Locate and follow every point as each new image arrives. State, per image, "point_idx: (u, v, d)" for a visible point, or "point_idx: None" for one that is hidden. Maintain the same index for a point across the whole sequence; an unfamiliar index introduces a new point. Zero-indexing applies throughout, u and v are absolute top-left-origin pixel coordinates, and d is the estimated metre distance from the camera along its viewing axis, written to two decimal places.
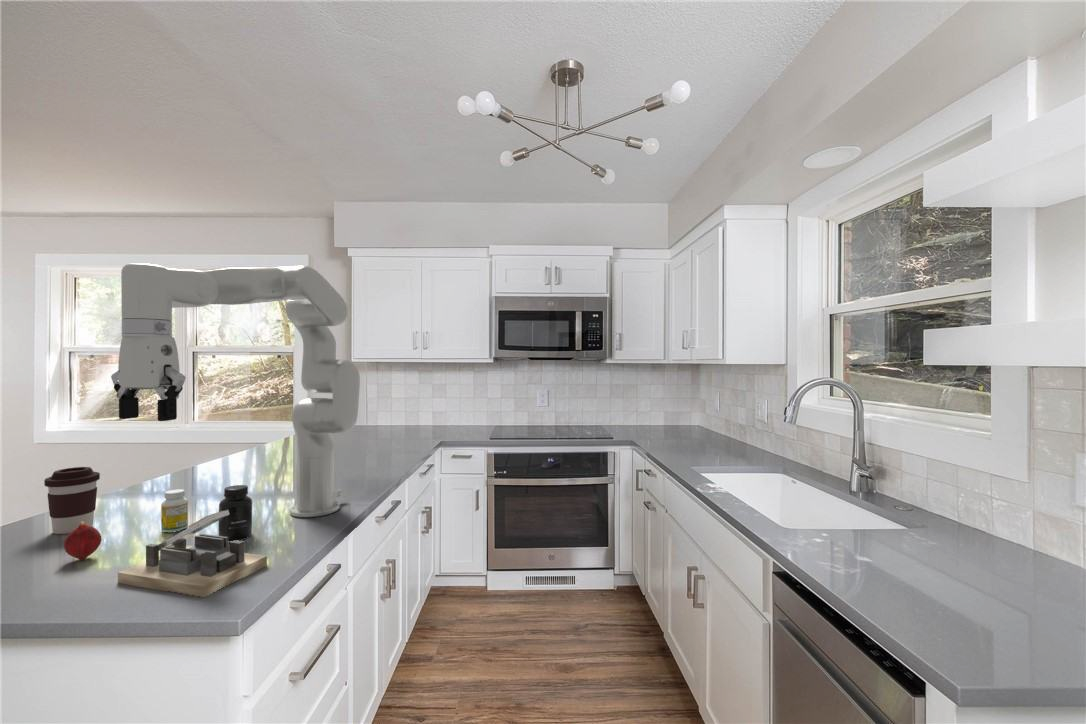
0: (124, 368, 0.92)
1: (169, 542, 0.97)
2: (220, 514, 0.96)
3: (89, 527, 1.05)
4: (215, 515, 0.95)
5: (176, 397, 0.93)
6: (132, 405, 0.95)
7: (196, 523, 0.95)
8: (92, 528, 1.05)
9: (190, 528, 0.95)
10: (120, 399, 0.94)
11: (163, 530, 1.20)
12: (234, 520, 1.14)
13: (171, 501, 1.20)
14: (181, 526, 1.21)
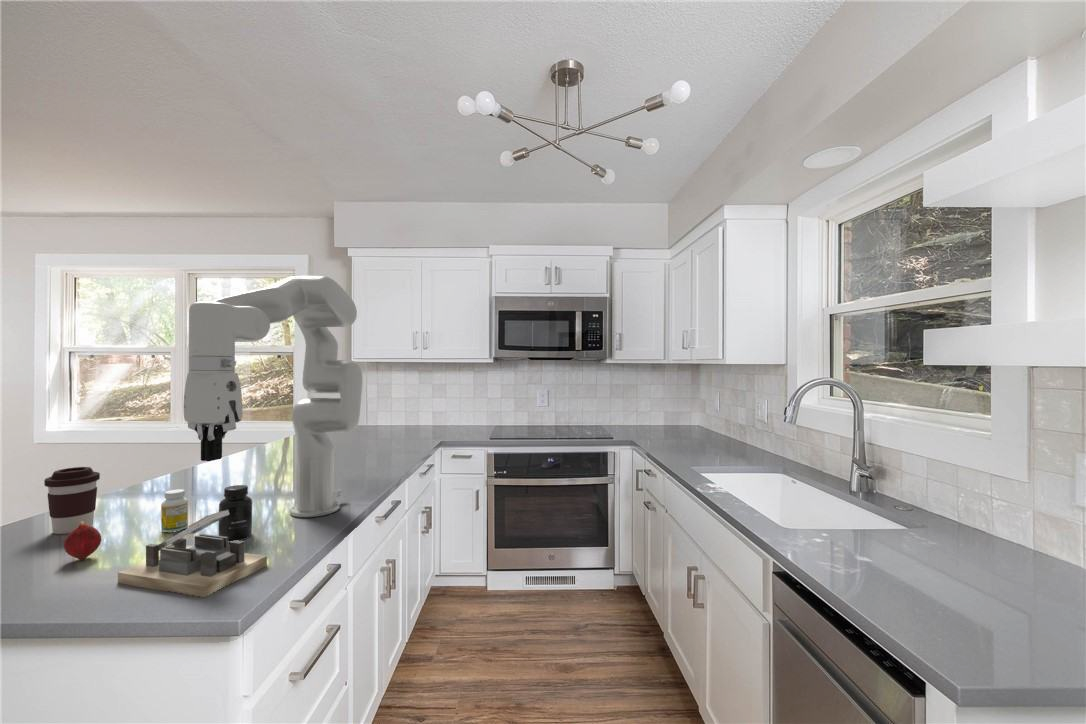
0: (190, 403, 0.94)
1: (169, 542, 0.97)
2: (220, 514, 0.96)
3: (89, 527, 1.05)
4: (215, 515, 0.95)
5: (222, 437, 0.96)
6: None
7: (196, 523, 0.95)
8: (92, 528, 1.05)
9: (190, 528, 0.95)
10: (202, 441, 0.94)
11: (163, 530, 1.20)
12: (234, 520, 1.14)
13: (171, 501, 1.20)
14: (181, 526, 1.21)
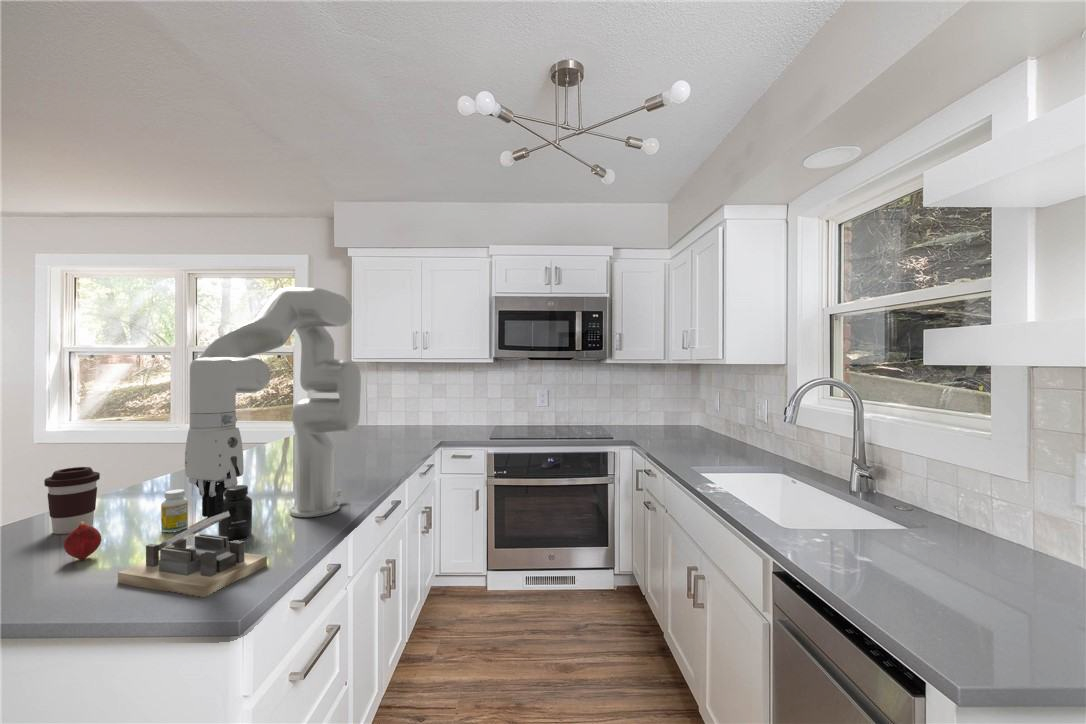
0: (191, 460, 0.94)
1: (169, 542, 0.97)
2: (221, 515, 0.96)
3: (89, 527, 1.05)
4: (216, 516, 0.95)
5: (223, 492, 0.96)
6: None
7: (196, 524, 0.95)
8: (92, 528, 1.05)
9: (190, 529, 0.95)
10: (203, 497, 0.95)
11: (163, 530, 1.20)
12: (234, 520, 1.14)
13: (171, 501, 1.20)
14: (181, 526, 1.21)
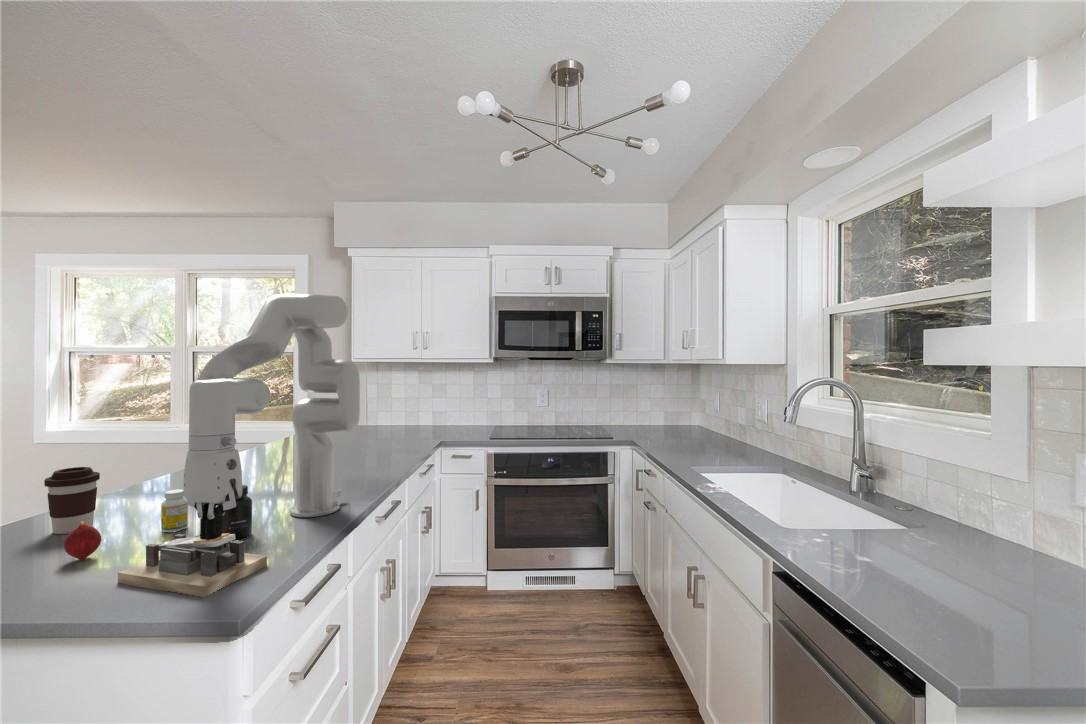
0: (190, 482, 0.94)
1: None
2: (227, 539, 0.96)
3: (89, 527, 1.05)
4: (222, 540, 0.95)
5: (222, 515, 0.96)
6: None
7: (202, 542, 0.95)
8: (92, 528, 1.05)
9: (194, 544, 0.95)
10: (202, 520, 0.94)
11: (163, 530, 1.20)
12: (234, 520, 1.14)
13: (171, 501, 1.20)
14: (181, 526, 1.21)
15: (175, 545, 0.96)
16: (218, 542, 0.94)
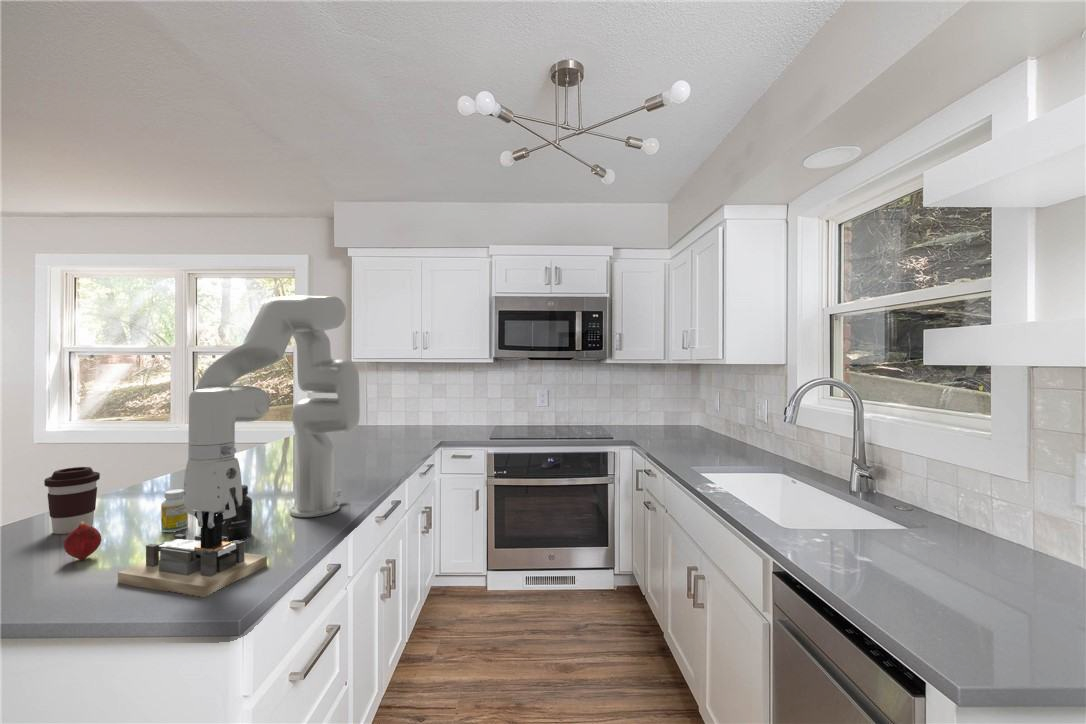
0: (190, 491, 0.94)
1: None
2: (228, 549, 0.96)
3: (89, 527, 1.05)
4: (223, 550, 0.95)
5: (222, 523, 0.96)
6: None
7: (202, 549, 0.95)
8: (92, 528, 1.05)
9: None
10: (202, 528, 0.95)
11: (163, 530, 1.20)
12: (234, 520, 1.14)
13: (171, 501, 1.20)
14: (181, 526, 1.21)
15: None
16: (219, 552, 0.94)
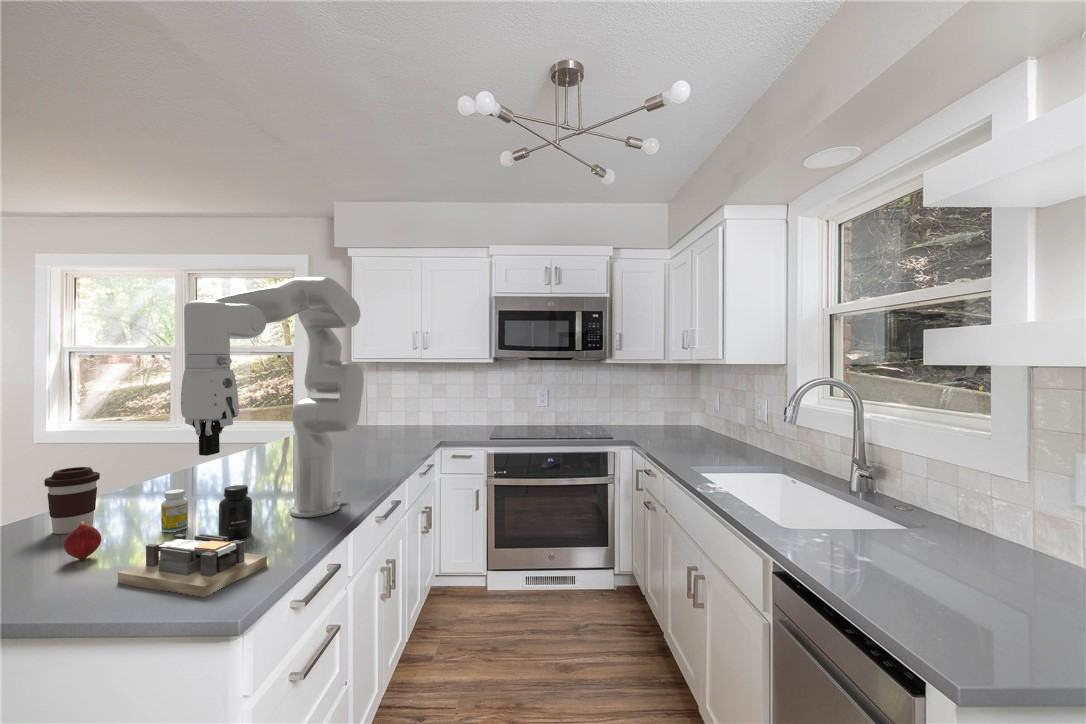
0: (187, 400, 0.97)
1: None
2: (228, 549, 0.96)
3: (89, 527, 1.05)
4: (223, 550, 0.95)
5: (219, 432, 0.99)
6: None
7: (202, 550, 0.95)
8: (92, 528, 1.05)
9: None
10: (200, 436, 0.98)
11: (163, 530, 1.20)
12: (234, 520, 1.14)
13: (171, 501, 1.20)
14: (181, 526, 1.21)
15: None
16: (219, 552, 0.94)
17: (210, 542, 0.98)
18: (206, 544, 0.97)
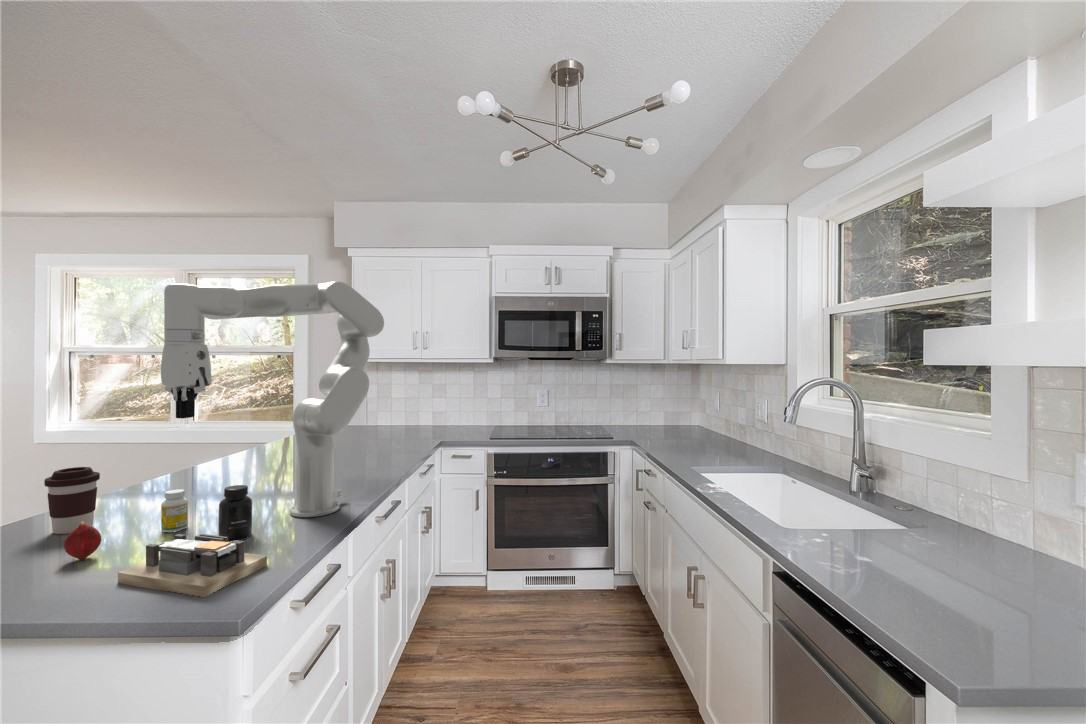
0: (166, 370, 1.12)
1: None
2: (228, 549, 0.96)
3: (89, 527, 1.05)
4: (223, 550, 0.95)
5: (194, 399, 1.14)
6: None
7: (202, 550, 0.95)
8: (92, 528, 1.05)
9: None
10: (177, 401, 1.12)
11: (163, 530, 1.20)
12: (234, 520, 1.14)
13: (171, 501, 1.20)
14: (181, 526, 1.21)
15: None
16: (219, 552, 0.94)
17: (210, 542, 0.98)
18: (206, 544, 0.97)
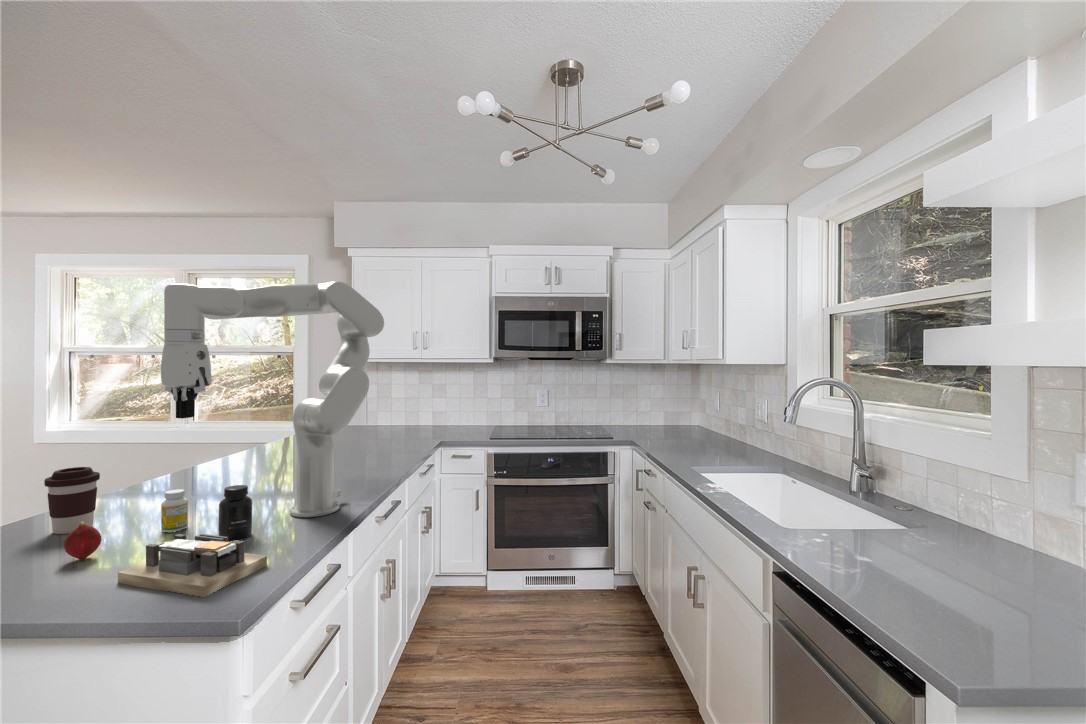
0: (166, 370, 1.12)
1: None
2: (228, 549, 0.96)
3: (89, 527, 1.05)
4: (223, 550, 0.95)
5: (194, 399, 1.14)
6: None
7: (202, 550, 0.95)
8: (92, 528, 1.05)
9: None
10: (177, 401, 1.12)
11: (163, 530, 1.20)
12: (234, 520, 1.14)
13: (171, 501, 1.20)
14: (181, 526, 1.21)
15: None
16: (219, 552, 0.94)
17: (210, 542, 0.98)
18: (206, 544, 0.97)
